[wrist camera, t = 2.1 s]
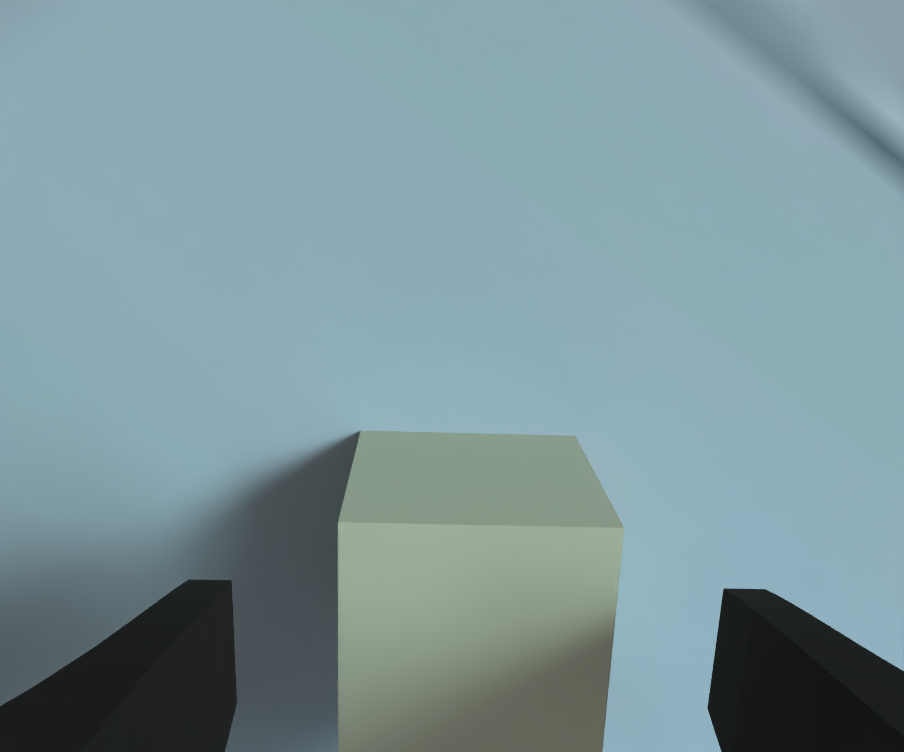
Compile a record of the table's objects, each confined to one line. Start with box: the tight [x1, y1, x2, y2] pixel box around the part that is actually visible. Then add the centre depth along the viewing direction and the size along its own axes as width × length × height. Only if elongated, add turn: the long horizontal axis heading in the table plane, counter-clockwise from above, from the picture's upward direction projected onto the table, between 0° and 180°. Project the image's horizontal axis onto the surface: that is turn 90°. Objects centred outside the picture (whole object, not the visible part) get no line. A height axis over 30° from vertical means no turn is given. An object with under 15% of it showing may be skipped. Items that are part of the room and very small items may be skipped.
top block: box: [338, 431, 624, 752], centre depth 14 cm, size 4×4×4 cm
